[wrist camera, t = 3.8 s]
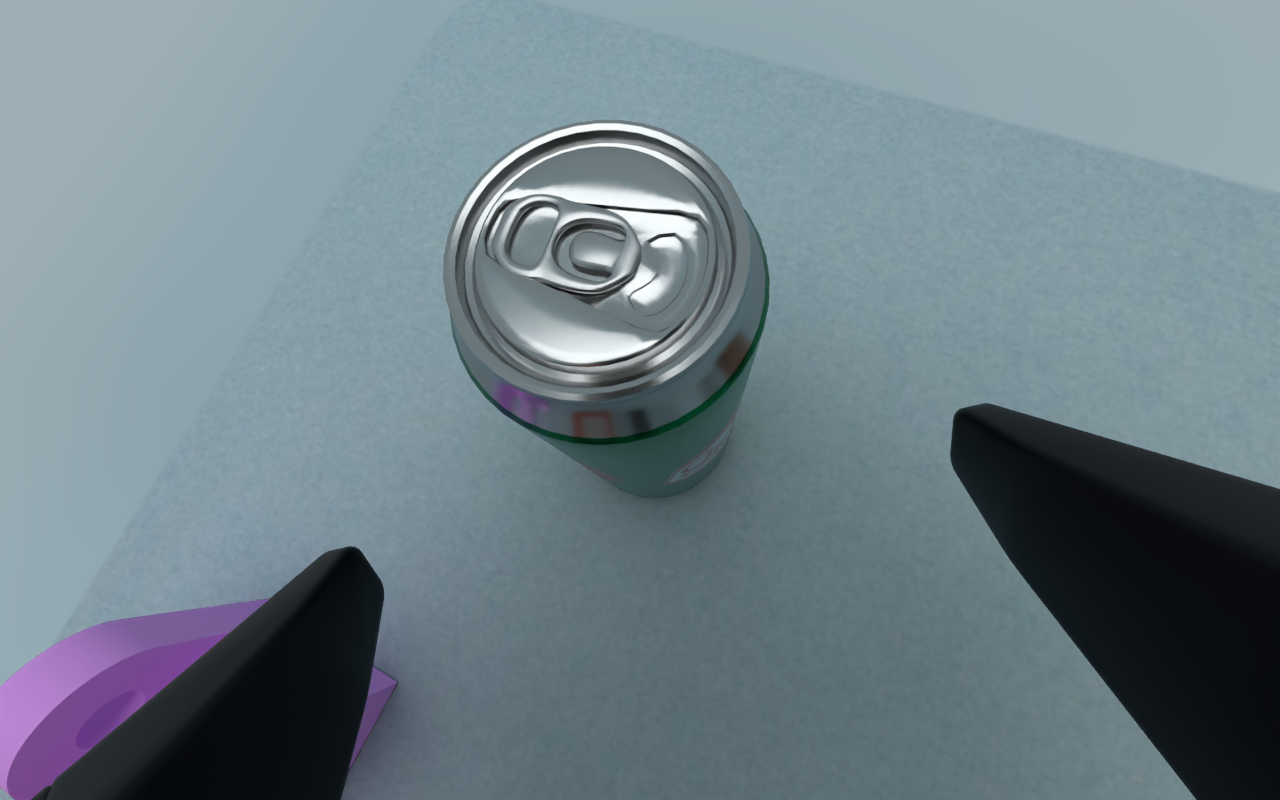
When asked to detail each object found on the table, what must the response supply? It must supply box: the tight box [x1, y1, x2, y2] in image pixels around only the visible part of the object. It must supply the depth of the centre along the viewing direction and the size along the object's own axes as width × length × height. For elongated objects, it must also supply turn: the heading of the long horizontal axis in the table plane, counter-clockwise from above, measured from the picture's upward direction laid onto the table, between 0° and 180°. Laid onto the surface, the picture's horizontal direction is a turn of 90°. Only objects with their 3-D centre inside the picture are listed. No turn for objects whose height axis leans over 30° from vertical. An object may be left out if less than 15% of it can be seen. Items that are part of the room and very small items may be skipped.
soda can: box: [443, 120, 770, 498], centre depth 13 cm, size 5×5×12 cm
